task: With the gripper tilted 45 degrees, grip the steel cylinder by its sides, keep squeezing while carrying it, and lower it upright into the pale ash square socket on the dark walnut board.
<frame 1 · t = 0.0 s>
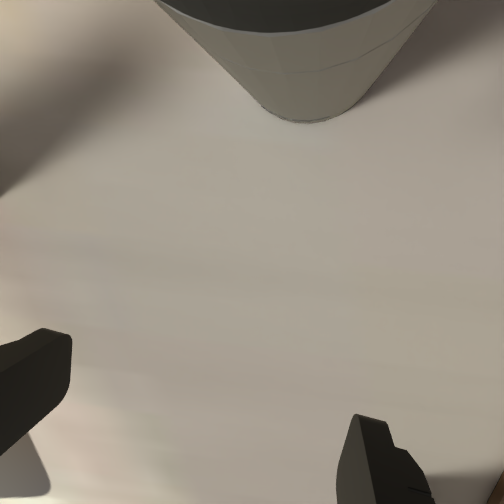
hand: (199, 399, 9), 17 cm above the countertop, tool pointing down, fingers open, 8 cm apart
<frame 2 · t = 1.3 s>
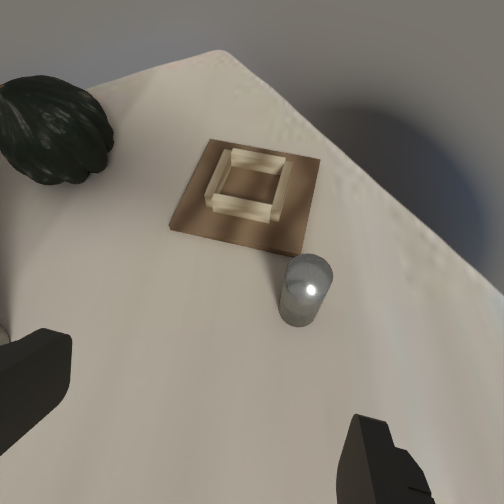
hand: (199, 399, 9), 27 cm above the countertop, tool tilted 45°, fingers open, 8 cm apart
squash: (76, 165, 52), on the countertop
socket board: (250, 194, 49), on the countertop
steel cylinder: (297, 308, 40), on the countertop
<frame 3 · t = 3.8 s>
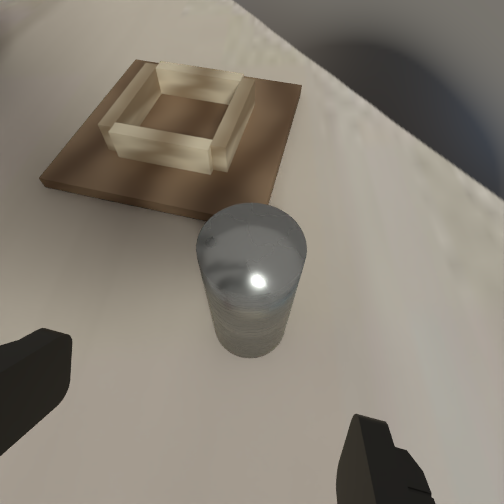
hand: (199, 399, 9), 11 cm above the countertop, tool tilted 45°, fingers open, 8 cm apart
socket board: (187, 135, 31), on the countertop
steel cylinder: (249, 322, 21), on the countertop
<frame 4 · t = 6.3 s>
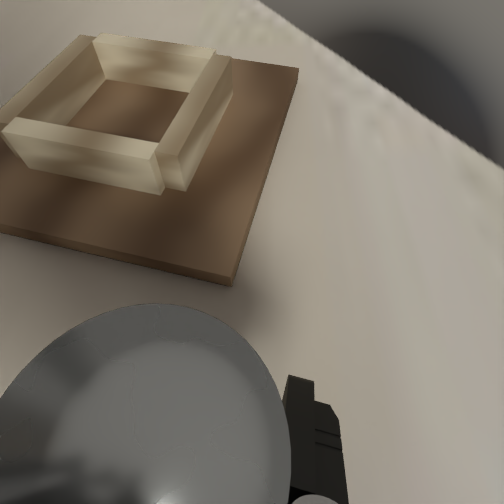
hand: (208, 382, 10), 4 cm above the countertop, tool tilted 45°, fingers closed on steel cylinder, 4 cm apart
socket board: (138, 136, 22), on the countertop
steel cylinder: (204, 457, 12), on the countertop, touching gripper
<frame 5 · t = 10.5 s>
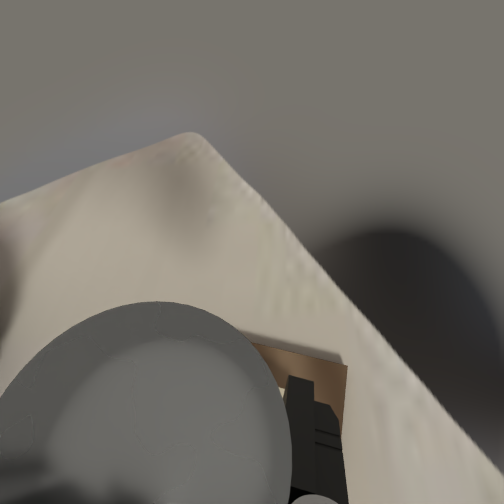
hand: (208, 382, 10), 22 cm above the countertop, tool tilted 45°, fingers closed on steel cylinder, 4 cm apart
socket board: (226, 449, 28), on the countertop
steel cylinder: (204, 456, 12), point 18 cm above the countertop, touching gripper
when the fingers open (7 cm above the countertop, at t = 14.8 s): steel cylinder drops 1 cm, resting on socket board.
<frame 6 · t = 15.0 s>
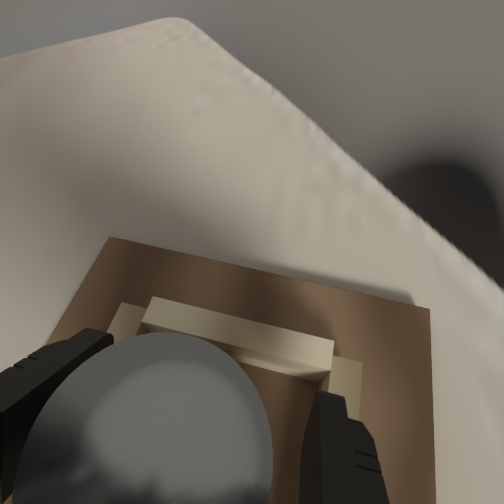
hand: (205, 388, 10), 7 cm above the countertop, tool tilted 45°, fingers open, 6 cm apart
socket board: (210, 457, 14), on the countertop
steel cylinder: (205, 458, 14), point 1 cm above the countertop, touching socket board
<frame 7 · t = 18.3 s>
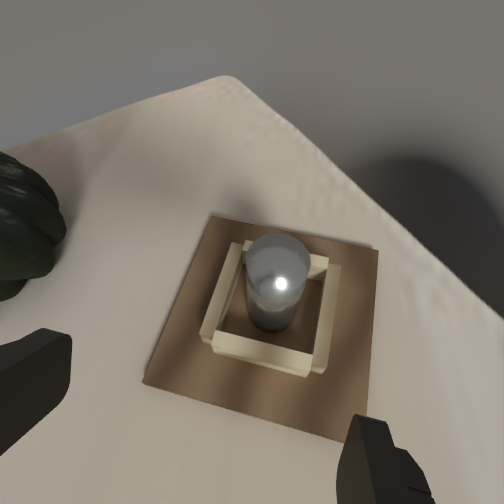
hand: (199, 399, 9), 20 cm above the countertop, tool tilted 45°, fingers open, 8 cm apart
squash: (13, 259, 35), on the countertop
socket board: (272, 313, 31), on the countertop
steel cylinder: (271, 309, 31), point 1 cm above the countertop, touching socket board
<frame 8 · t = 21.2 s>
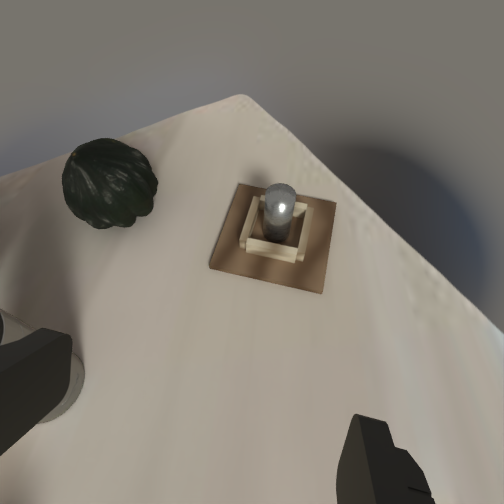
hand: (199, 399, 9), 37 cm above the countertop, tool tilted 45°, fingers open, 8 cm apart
squash: (123, 208, 60), on the countertop
socket board: (276, 235, 57), on the countertop
steel cylinder: (276, 231, 56), point 1 cm above the countertop, touching socket board
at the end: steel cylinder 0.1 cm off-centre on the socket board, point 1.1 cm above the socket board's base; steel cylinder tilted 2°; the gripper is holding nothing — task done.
